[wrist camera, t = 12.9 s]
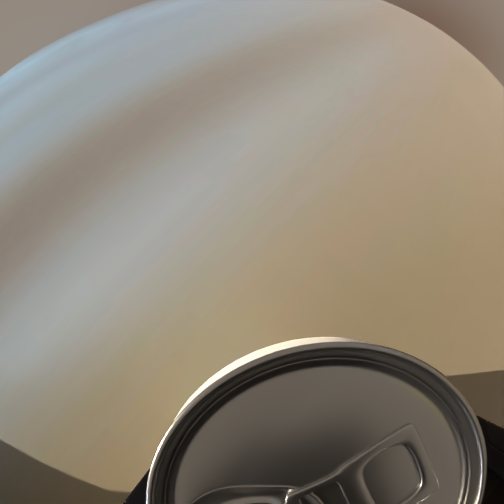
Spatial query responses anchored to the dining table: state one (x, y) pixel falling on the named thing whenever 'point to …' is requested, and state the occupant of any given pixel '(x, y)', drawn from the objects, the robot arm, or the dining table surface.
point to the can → (322, 432)
